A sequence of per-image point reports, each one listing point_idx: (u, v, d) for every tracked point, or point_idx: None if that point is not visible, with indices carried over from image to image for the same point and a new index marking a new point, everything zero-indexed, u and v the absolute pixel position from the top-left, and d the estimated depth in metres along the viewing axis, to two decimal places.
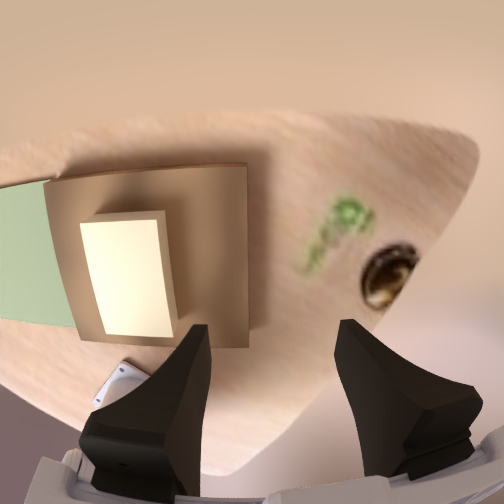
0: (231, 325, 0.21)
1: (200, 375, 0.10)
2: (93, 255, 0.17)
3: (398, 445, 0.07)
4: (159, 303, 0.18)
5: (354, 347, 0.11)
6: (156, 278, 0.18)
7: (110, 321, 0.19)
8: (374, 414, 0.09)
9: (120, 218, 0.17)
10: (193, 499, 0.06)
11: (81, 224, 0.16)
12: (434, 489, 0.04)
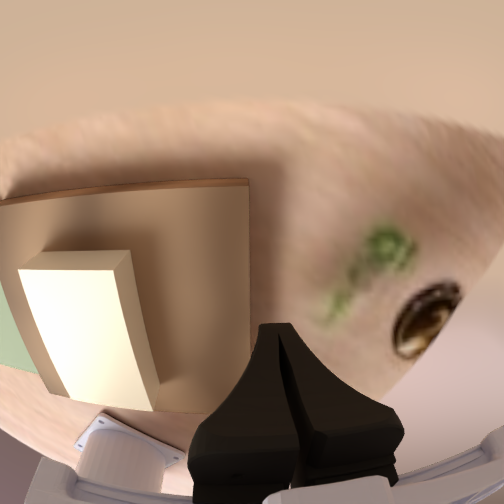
0: (229, 392, 0.16)
1: None
2: (39, 311, 0.11)
3: (303, 462, 0.07)
4: (130, 375, 0.12)
5: (282, 352, 0.11)
6: (122, 347, 0.12)
7: (73, 387, 0.13)
8: None
9: (67, 263, 0.11)
10: None
11: (19, 271, 0.10)
12: (434, 489, 0.04)
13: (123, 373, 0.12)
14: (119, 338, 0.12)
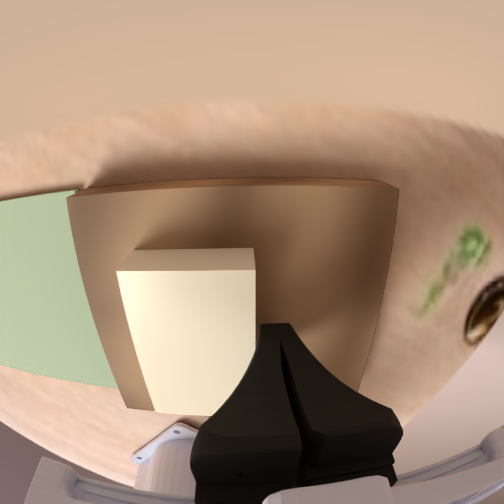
0: None
1: None
2: (140, 319, 0.11)
3: (302, 463, 0.07)
4: None
5: (281, 353, 0.11)
6: (244, 351, 0.12)
7: (163, 400, 0.13)
8: None
9: (186, 263, 0.11)
10: None
11: (119, 272, 0.10)
12: (434, 489, 0.04)
13: (235, 379, 0.12)
14: (243, 342, 0.12)
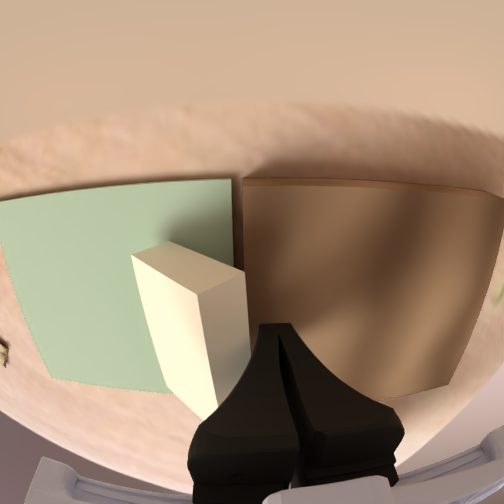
0: (445, 366, 0.16)
1: None
2: (145, 300, 0.13)
3: (303, 462, 0.07)
4: (209, 399, 0.12)
5: (282, 352, 0.11)
6: (204, 372, 0.11)
7: (168, 378, 0.15)
8: None
9: (172, 266, 0.11)
10: None
11: (132, 256, 0.12)
12: (434, 489, 0.04)
13: (204, 394, 0.12)
14: (202, 363, 0.11)
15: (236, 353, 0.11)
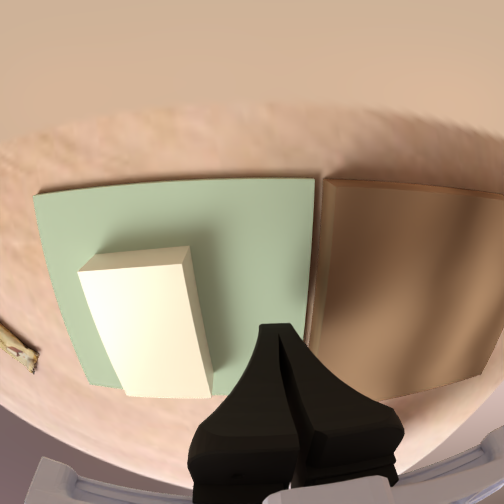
0: (481, 356, 0.16)
1: None
2: None
3: (303, 462, 0.07)
4: None
5: (282, 353, 0.11)
6: None
7: None
8: None
9: (134, 255, 0.13)
10: None
11: (187, 247, 0.14)
12: (434, 489, 0.04)
13: None
14: None
15: None
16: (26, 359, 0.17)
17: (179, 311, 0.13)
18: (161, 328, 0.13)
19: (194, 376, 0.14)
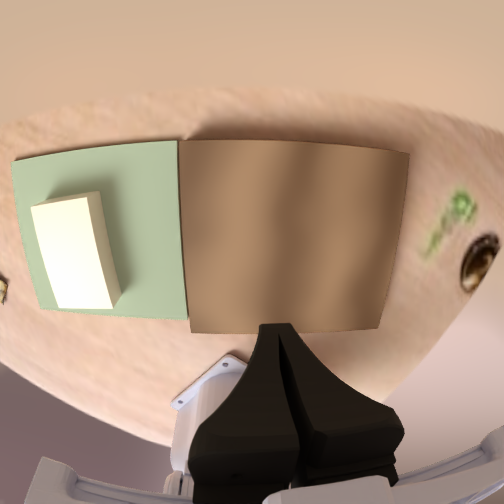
0: (369, 306, 0.21)
1: None
2: None
3: (303, 462, 0.07)
4: None
5: (282, 353, 0.11)
6: None
7: None
8: None
9: (66, 197, 0.18)
10: None
11: (98, 191, 0.19)
12: (434, 489, 0.04)
13: None
14: None
15: None
16: None
17: (86, 231, 0.18)
18: (77, 245, 0.18)
19: (99, 286, 0.19)
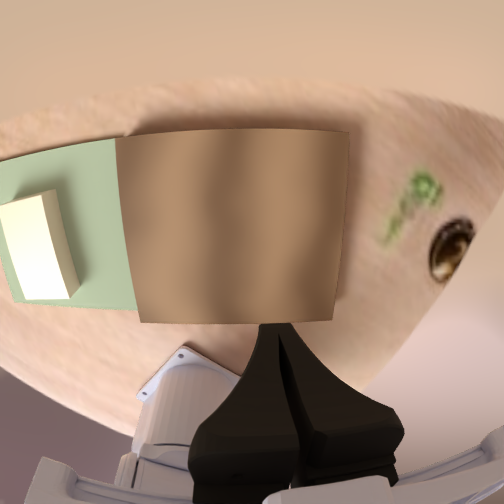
0: (319, 296, 0.21)
1: None
2: None
3: (303, 462, 0.07)
4: None
5: (282, 352, 0.11)
6: None
7: None
8: None
9: (27, 196, 0.18)
10: None
11: (54, 189, 0.19)
12: (434, 489, 0.04)
13: None
14: None
15: None
16: None
17: (42, 226, 0.18)
18: (35, 239, 0.18)
19: (56, 278, 0.19)
